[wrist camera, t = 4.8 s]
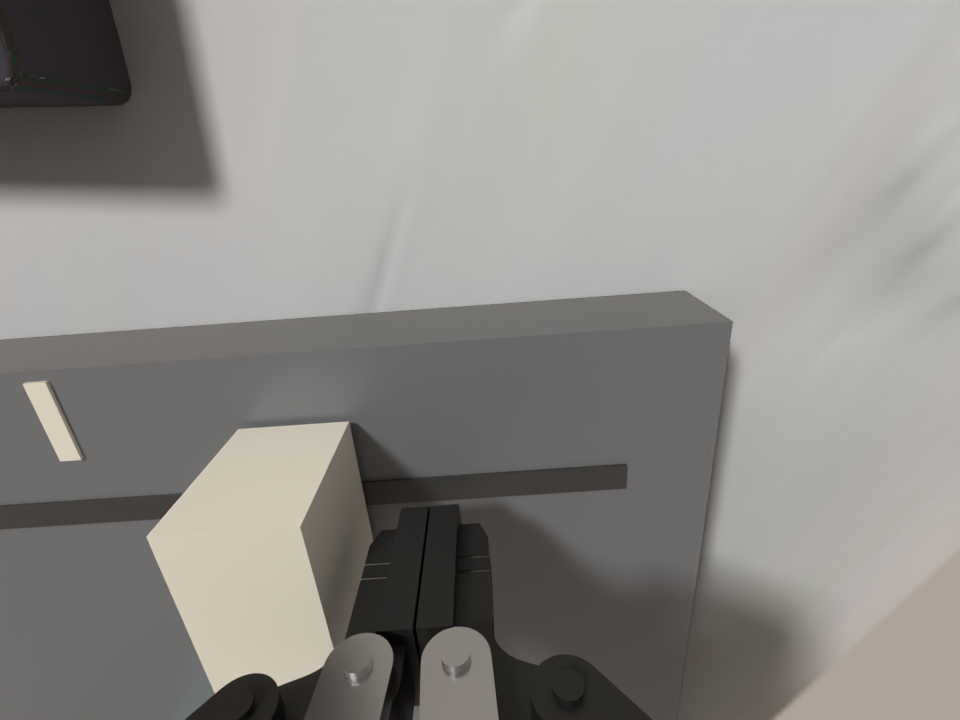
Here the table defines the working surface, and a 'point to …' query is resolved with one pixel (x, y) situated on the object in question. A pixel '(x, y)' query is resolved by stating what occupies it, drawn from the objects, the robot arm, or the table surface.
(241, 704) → the robot arm
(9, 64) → the calculator
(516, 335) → the console
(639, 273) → the table surface
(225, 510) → the block
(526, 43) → the table surface
